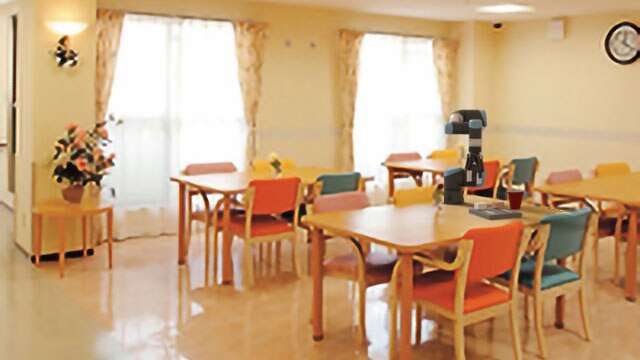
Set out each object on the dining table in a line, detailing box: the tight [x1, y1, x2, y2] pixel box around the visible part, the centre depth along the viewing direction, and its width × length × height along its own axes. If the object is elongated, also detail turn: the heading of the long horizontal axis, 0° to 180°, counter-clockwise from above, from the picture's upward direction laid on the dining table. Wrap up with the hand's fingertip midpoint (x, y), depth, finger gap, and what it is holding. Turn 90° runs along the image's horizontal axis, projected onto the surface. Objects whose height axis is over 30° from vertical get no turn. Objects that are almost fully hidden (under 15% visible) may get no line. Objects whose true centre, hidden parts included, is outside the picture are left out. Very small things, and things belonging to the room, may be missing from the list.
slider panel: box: [468, 206, 523, 220], centre depth 381 cm, size 22×22×3 cm
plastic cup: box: [506, 189, 525, 211], centre depth 398 cm, size 11×11×12 cm
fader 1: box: [473, 201, 488, 210], centre depth 384 cm, size 4×6×4 cm, turn 108°
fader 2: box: [491, 200, 505, 208], centre depth 388 cm, size 4×6×4 cm, turn 108°
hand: (474, 182), depth 390 cm, fingers open, 10 cm apart
